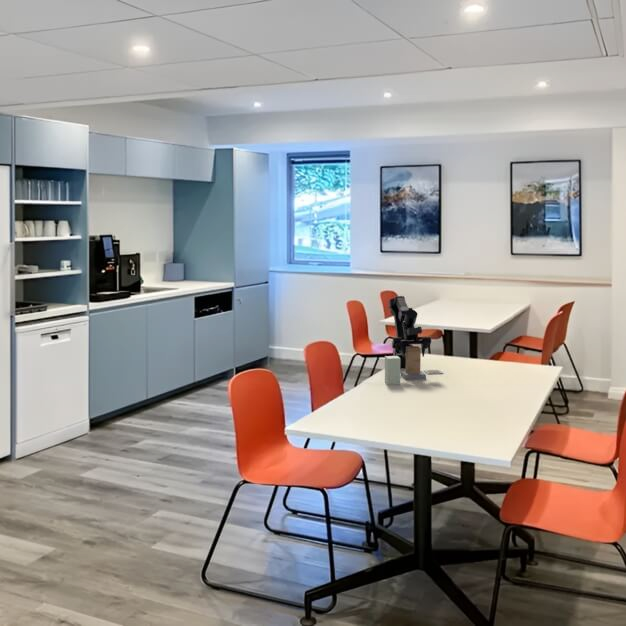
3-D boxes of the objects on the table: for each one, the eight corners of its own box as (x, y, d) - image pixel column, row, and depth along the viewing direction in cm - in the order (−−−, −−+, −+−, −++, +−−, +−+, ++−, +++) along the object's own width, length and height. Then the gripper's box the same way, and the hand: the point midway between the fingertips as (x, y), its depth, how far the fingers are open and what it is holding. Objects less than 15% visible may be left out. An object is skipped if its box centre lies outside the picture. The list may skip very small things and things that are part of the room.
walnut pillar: (405, 371, 366) (405, 346, 365) (417, 371, 367) (417, 346, 365) (408, 374, 361) (408, 348, 359) (420, 373, 361) (420, 348, 359)
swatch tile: (423, 371, 379) (423, 369, 379) (438, 370, 380) (438, 369, 380) (427, 374, 371) (427, 373, 371) (443, 373, 372) (443, 372, 372)
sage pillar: (384, 382, 354) (384, 356, 353) (397, 381, 355) (397, 355, 354) (387, 385, 348) (387, 358, 347) (400, 384, 349) (400, 358, 348)
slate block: (401, 376, 369) (401, 371, 368) (420, 376, 370) (420, 370, 369) (405, 381, 359) (405, 375, 358) (425, 380, 360) (425, 374, 359)
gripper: (393, 321, 364) (397, 347, 354) (430, 320, 366) (436, 346, 356) (389, 334, 373) (394, 360, 363) (426, 334, 374) (431, 359, 365)
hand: (414, 356), depth 362 cm, fingers open, 9 cm apart
